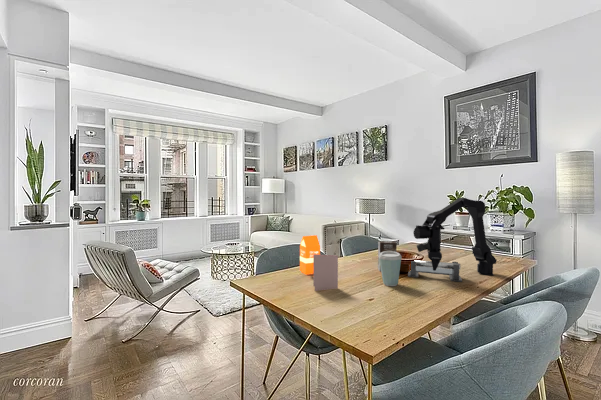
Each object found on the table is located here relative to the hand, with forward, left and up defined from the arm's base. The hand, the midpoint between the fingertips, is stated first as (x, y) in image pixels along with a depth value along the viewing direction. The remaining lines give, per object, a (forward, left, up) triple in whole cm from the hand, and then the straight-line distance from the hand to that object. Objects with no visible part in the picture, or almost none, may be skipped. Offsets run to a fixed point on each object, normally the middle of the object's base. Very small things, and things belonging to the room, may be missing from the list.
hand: (434, 268), depth 157 cm
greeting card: (+47, +39, -5) cm, 61 cm away
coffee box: (+24, -5, -5) cm, 25 cm away
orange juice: (+63, +14, -5) cm, 65 cm away
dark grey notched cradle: (0, 0, -4) cm, 4 cm away
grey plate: (0, -13, -4) cm, 14 cm away
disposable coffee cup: (+20, +21, -5) cm, 29 cm away
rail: (0, 0, +2) cm, 2 cm away
